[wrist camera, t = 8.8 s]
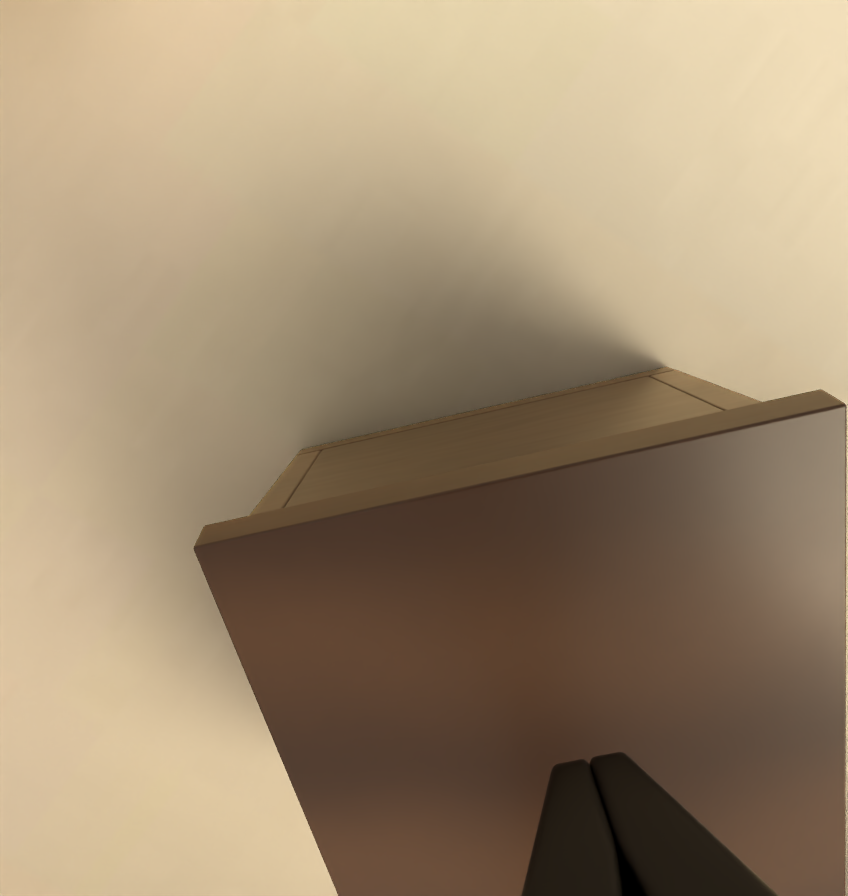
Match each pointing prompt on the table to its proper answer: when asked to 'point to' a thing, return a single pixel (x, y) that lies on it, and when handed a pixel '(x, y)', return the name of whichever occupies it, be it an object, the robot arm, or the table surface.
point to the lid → (559, 646)
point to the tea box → (497, 434)
